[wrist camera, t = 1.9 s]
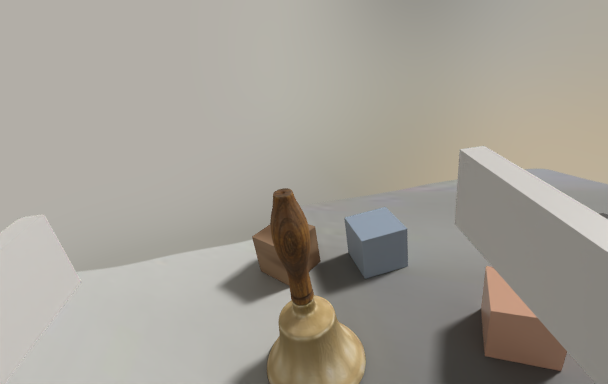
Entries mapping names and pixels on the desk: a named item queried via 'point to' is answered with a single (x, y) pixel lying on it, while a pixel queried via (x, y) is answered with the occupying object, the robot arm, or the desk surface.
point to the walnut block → (270, 258)
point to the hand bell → (307, 313)
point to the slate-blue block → (376, 242)
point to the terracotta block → (515, 328)
